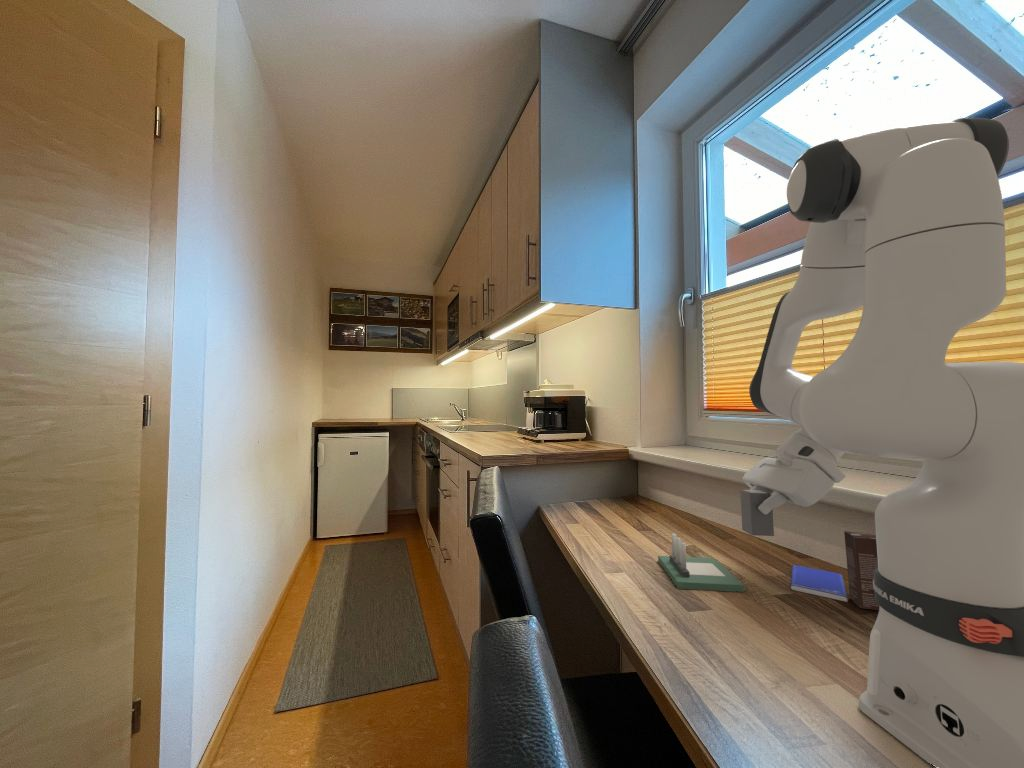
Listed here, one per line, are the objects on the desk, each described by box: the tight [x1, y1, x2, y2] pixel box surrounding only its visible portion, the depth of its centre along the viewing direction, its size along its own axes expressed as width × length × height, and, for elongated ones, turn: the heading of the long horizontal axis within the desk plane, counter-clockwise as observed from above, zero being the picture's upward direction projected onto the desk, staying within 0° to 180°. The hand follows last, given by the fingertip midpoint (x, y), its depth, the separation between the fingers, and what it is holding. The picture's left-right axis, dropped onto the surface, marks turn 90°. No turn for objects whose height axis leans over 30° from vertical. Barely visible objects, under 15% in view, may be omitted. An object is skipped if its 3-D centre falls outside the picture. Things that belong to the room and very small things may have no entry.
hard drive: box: [790, 564, 848, 603], centre depth 77 cm, size 2×8×12 cm
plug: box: [739, 489, 775, 537], centre depth 78 cm, size 4×4×8 cm
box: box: [843, 530, 880, 611], centre depth 68 cm, size 6×4×12 cm
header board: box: [657, 533, 746, 593], centre depth 81 cm, size 14×12×7 cm
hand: (753, 508), depth 78 cm, fingers closed on plug, 4 cm apart
